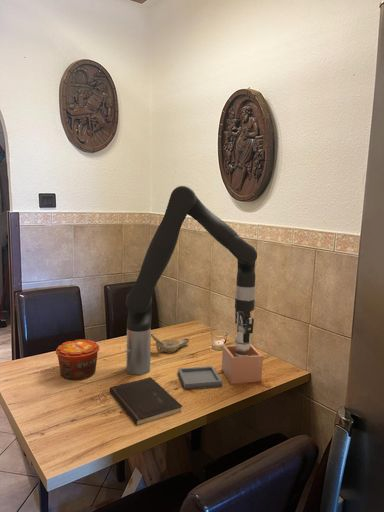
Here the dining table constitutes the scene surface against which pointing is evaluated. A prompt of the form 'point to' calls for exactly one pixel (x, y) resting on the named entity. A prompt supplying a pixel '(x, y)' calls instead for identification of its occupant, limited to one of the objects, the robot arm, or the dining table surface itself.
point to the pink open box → (242, 365)
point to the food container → (77, 359)
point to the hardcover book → (145, 400)
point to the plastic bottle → (241, 344)
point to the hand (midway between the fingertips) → (242, 339)
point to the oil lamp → (169, 344)
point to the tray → (199, 377)
